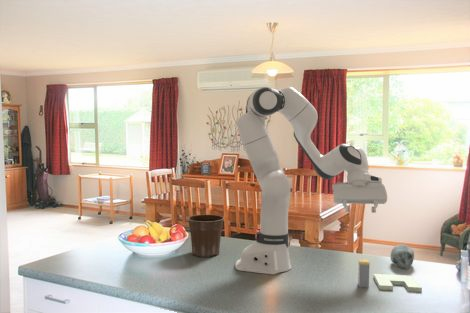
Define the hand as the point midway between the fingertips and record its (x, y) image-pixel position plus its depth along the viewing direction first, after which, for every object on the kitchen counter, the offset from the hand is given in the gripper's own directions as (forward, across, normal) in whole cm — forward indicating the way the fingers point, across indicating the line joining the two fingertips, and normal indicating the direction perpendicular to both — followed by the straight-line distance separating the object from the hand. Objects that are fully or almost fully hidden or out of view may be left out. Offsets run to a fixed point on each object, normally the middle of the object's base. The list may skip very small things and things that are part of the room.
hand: (360, 211), depth 164 cm
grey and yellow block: (+26, 0, +8) cm, 27 cm away
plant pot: (+6, -66, +25) cm, 71 cm away
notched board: (+24, +11, +11) cm, 29 cm away
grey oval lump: (+8, +17, +28) cm, 34 cm away
